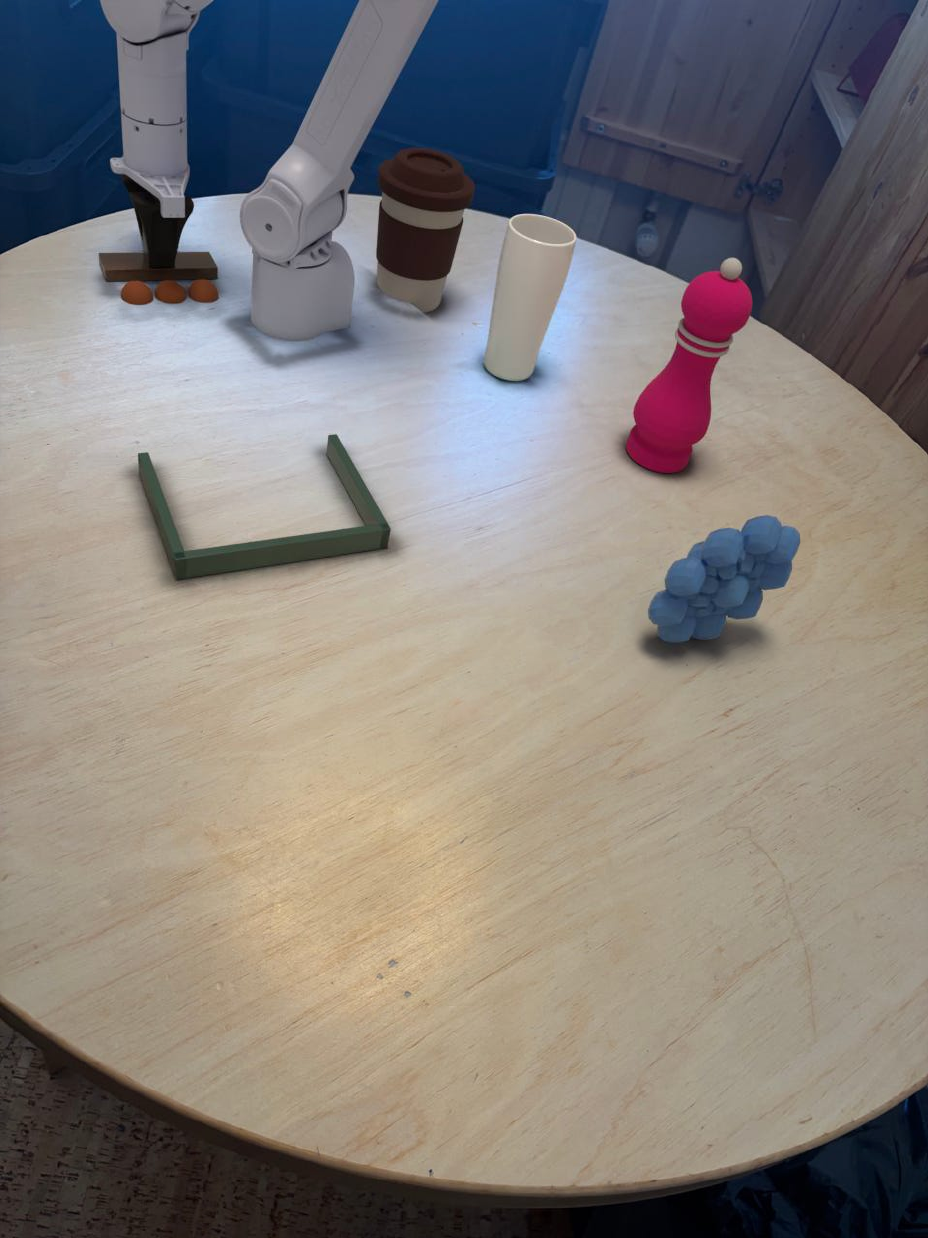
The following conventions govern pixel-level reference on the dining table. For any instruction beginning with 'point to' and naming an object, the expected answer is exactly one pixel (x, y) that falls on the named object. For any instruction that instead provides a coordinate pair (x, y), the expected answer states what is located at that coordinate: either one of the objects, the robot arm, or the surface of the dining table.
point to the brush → (142, 269)
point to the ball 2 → (203, 291)
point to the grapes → (723, 579)
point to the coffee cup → (419, 224)
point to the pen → (278, 548)
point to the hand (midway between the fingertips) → (158, 257)
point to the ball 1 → (136, 293)
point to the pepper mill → (689, 371)
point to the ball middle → (170, 292)
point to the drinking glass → (526, 292)
